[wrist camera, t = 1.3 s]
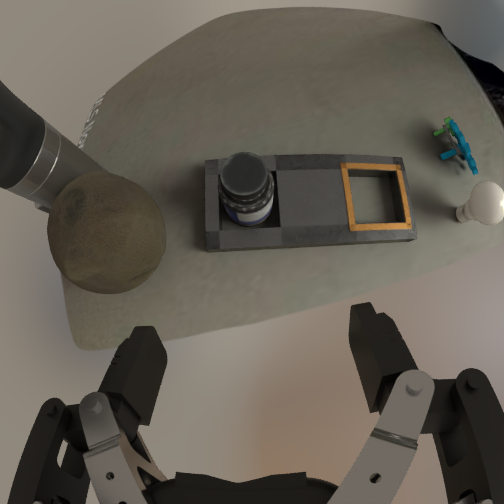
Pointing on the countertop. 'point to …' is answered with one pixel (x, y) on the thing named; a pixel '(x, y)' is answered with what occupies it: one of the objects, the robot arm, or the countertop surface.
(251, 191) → the pill bottle
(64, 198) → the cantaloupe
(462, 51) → the countertop surface
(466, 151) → the blue branched piece
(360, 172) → the grey rectangular tray
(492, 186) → the lightbulb
